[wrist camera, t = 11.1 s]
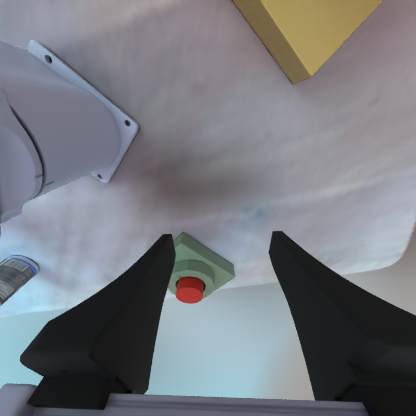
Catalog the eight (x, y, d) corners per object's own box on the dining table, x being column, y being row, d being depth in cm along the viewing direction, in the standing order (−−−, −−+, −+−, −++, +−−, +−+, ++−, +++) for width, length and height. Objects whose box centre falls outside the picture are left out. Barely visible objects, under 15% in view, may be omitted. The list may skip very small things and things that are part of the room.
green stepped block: (154, 260, 25) (144, 283, 22) (183, 231, 22) (177, 253, 19) (201, 287, 28) (200, 310, 25) (233, 265, 25) (236, 288, 22)
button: (173, 283, 22) (170, 296, 21) (188, 271, 21) (186, 283, 19) (193, 294, 23) (191, 306, 22) (209, 283, 22) (208, 295, 20)
